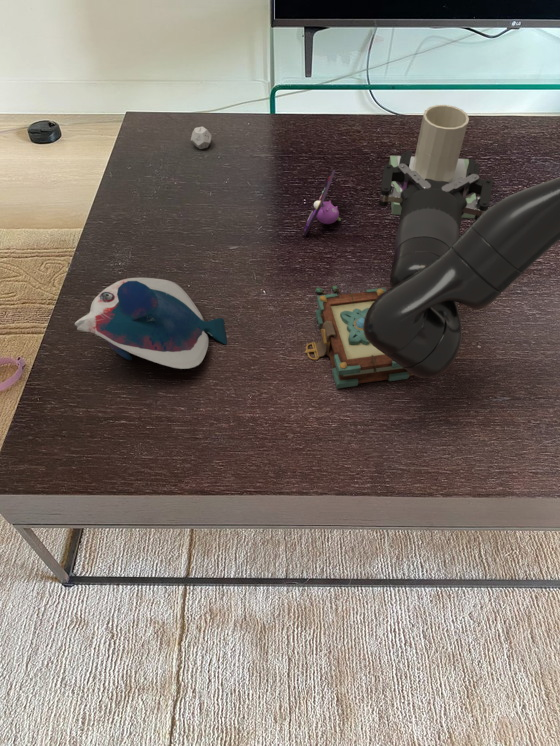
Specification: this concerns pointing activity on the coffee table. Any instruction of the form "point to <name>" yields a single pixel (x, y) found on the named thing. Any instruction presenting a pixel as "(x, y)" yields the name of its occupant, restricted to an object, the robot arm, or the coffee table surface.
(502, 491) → the coffee table surface
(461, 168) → the scale
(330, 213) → the purple winged figurine
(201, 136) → the game die
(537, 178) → the coffee table surface
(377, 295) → the decorative book
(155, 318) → the decorative fish sculpture
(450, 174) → the cup
